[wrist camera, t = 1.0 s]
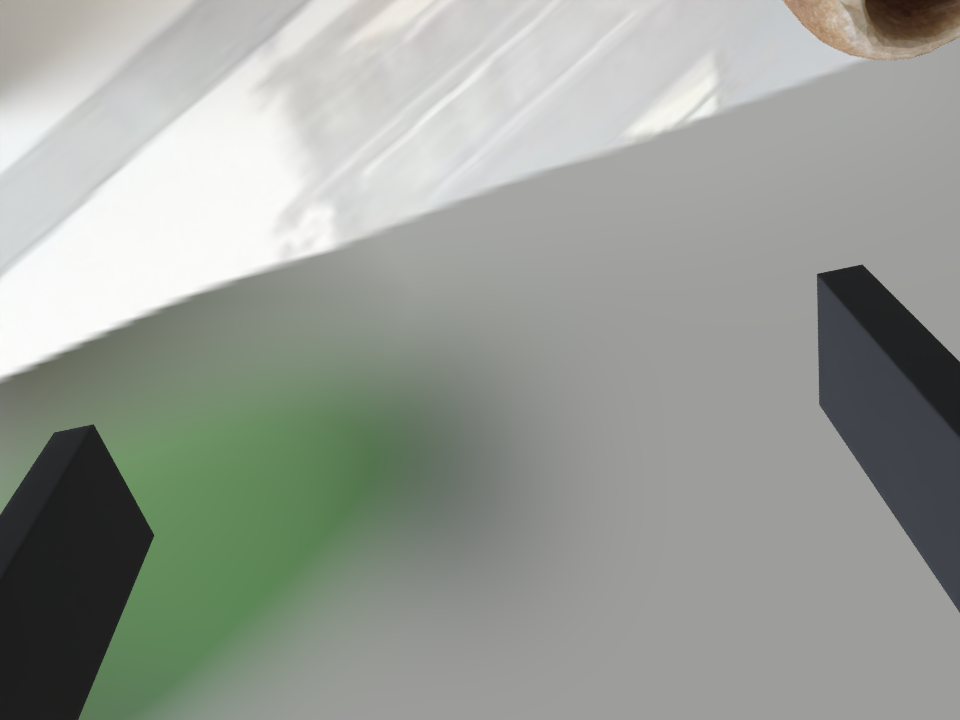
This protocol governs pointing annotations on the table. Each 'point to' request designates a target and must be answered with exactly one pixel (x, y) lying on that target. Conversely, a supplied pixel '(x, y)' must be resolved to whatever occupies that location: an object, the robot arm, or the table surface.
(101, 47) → the table surface
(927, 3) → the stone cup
